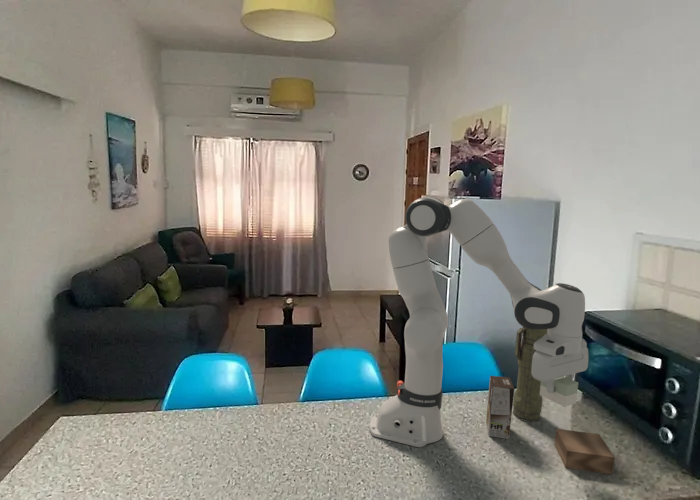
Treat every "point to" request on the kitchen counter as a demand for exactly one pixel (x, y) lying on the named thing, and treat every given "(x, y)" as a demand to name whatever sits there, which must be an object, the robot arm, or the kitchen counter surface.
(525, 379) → the thermos
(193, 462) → the kitchen counter surface
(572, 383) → the block
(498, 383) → the coffee box
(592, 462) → the walnut stand
